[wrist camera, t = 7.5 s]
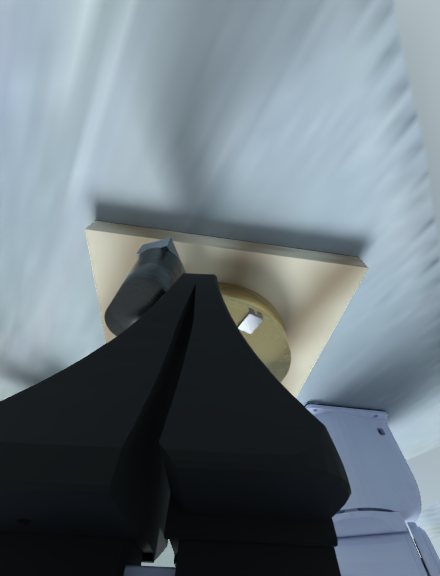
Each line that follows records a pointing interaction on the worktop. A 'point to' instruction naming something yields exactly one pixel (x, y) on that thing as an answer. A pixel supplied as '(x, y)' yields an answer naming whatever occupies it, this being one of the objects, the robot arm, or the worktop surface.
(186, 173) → the worktop surface
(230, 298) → the crank handle
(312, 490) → the robot arm
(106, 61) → the worktop surface
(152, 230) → the beige flat board
